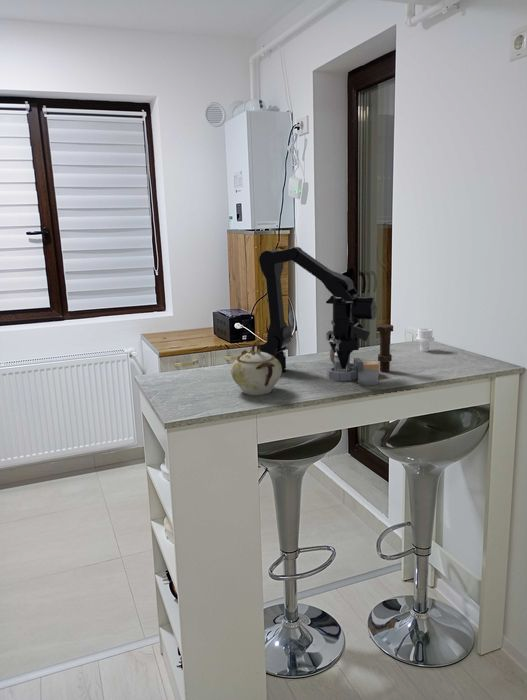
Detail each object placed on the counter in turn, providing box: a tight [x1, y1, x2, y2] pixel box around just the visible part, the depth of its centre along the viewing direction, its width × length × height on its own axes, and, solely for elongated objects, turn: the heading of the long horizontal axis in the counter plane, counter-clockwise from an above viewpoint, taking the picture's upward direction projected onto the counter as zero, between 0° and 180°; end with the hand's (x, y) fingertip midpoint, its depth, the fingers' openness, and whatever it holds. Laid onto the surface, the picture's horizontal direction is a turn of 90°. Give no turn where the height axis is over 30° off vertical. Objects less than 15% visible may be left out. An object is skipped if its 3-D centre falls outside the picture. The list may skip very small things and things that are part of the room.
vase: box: [329, 348, 335, 366], centre depth 201 cm, size 7×7×9 cm
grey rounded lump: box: [357, 369, 379, 386], centre depth 179 cm, size 6×6×4 cm
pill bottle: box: [334, 347, 351, 372], centre depth 185 cm, size 5×5×8 cm
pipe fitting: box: [415, 327, 435, 353], centre depth 218 cm, size 6×7×8 cm
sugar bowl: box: [230, 341, 283, 396], centre depth 173 cm, size 20×15×15 cm
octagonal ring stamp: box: [326, 357, 380, 382], centre depth 186 cm, size 16×9×5 cm, turn 96°
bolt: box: [376, 323, 394, 373], centre depth 190 cm, size 6×5×15 cm
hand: (341, 366), depth 186 cm, fingers closed on pill bottle, 5 cm apart
